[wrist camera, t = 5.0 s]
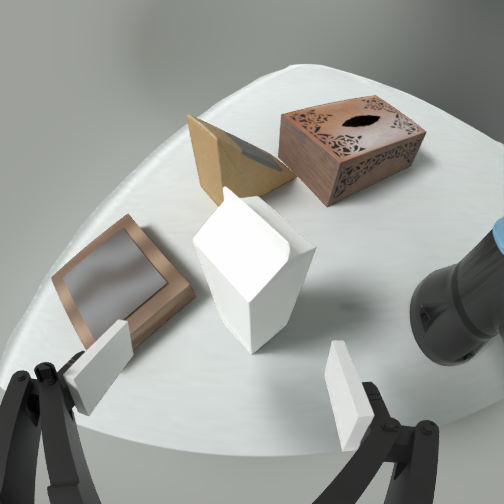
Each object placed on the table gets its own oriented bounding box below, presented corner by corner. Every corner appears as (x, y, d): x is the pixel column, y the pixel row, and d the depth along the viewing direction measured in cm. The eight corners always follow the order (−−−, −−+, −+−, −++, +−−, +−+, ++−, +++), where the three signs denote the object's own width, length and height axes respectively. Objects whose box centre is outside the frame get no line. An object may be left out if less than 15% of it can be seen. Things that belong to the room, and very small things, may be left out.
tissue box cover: (326, 208, 44) (339, 163, 36) (278, 158, 51) (281, 114, 42) (410, 166, 51) (426, 131, 42) (365, 129, 57) (375, 95, 49)
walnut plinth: (195, 296, 36) (189, 283, 33) (109, 370, 31) (93, 364, 27) (136, 228, 42) (127, 212, 39) (64, 288, 37) (49, 276, 33)
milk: (251, 355, 32) (247, 284, 13) (220, 319, 35) (180, 211, 16) (287, 324, 34) (328, 218, 15) (256, 291, 37) (258, 163, 18)
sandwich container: (299, 177, 48) (310, 105, 35) (226, 217, 43) (217, 139, 31) (269, 152, 52) (272, 84, 39) (200, 186, 47) (185, 113, 34)
